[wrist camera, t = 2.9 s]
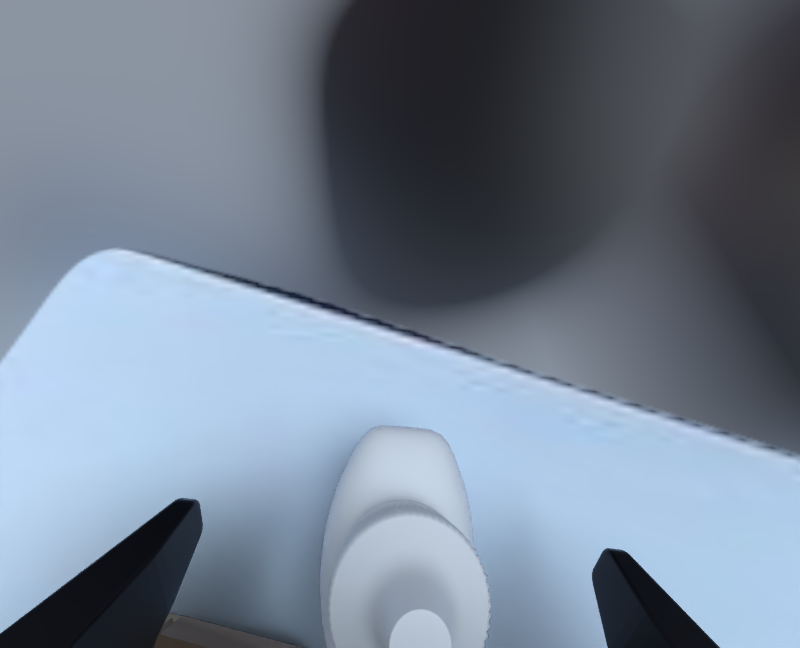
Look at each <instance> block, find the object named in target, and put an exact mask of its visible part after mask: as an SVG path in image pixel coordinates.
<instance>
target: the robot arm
mask: <svg viewBox="0 0 800 648" xmlns="http://www.w3.org/2000/svg"><path fill="white" fill-rule="evenodd" d="M202 528H203V523H202V516H201V509H200V504H199V502H198V501H197V500H195V499H187V498H180V499H177V500H175V501H174V502H172V503H171V504H170V505H168V506H167V507H166V508H165V509H163V510H162V511H161V512H159V513H158V514H157V515H155V516H154V517H153V518H151V519H150V520H149V521H147V522H146V523H145V524H144V525H142V526H141V527H140V528H138V529H137V530H136V531H134V532H133V533H132V534H130V535H129V536H128V537H126V538H125V539H124V540H123V541H121V542H120V543H119V544H117V545H116V546H115V547H113V548H112V549H111V550H109V551H108V552H107V553H105V554H104V555H103V556H102V557H100V558H99V559H98V560H96V561H95V562H94V563H92V564H91V565H90V566H88V567H87V568H86V569H84V570H83V571H82V572H81V573H79V574H78V575H77V576H75V577H74V578H73V579H71V580H70V581H69V582H67V583H66V584H65V585H63V586H62V587H61V588H60V589H58V590H57V591H56V592H54V593H53V594H52V595H50V596H49V597H48V598H46V599H45V600H44V601H42V602H41V603H40V604H39V605H37V606H36V607H35V608H33V609H32V610H31V611H29V612H28V613H27V614H25V615H24V616H23V617H21V618H20V619H19V620H18V621H16V622H15V623H14V624H12V625H11V626H10V627H8V628H7V629H6V630H4V631H3V632H2V633H0V648H152V646H153V644H154V642H155V640H156V638H157V636H158V634H159V632H160V630H161V628H162V626H163V624H164V622H165V620H166V618H167V616H168V614H169V612H170V610H171V607H172V605H173V603H174V600H175V598H176V595H177V593H178V590H179V588H180V585H181V583H182V580H183V578H184V576H185V573H186V571H187V568H188V566H189V563H190V561H191V558H192V556H193V553H194V551H195V548H196V546H197V543H198V541H199V539H200V536H201V533H202ZM592 581H593V586H594V590H595V595H596V599H597V603H598V608H599V612H600V616H601V621H602V625H603V629H604V634H605V638H606V642H607V646H608V648H720V647H719V646H718V645H717V644H716V643H715V642H714V641H713V640H712V639H711V638H710V637H709V636H708V635H707V634H706V633H705V632H704V631H703V630H702V629H701V628H700V627H699V626H698V625H697V624H696V623H695V622H694V621H693V620H692V619H691V618H690V616H689V615H688V614H687V613H686V612H685V611H684V610H683V609H682V608H681V607H680V606H679V605H678V604H677V603H676V602H675V601H674V600H673V599H672V598H671V597H670V596H669V595H668V594H667V593H666V592H665V591H664V590H663V589H662V588H661V587H660V586H659V585H658V583H657V582H656V581H655V580H654V579H653V578H652V577H651V576H650V575H649V574H648V573H647V572H646V571H645V570H644V569H643V568H642V567H641V566H640V565H639V564H638V563H637V562H636V561H635V560H634V559H633V558H632V557H631V556H630V555H629V554H628V553H627V552H625V551H623V550H619V549H610V548H607V549H605V550H604V551H603V552H602V554H601V556H600V558H599V559H598V561H597V563H596V565H595V567H594V569H593V572H592Z"/></svg>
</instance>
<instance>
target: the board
mask: <svg viewBox="0 0 800 648" xmlns="http://www.w3.org/2000/svg"><path fill="white" fill-rule="evenodd" d="M152 648H302V647H298V646H294V645H291V644H287V643H283V642H279V641H276V640H272V639H268V638H265V637H261V636H257V635H253V634H250V633H246V632H242V631H238V630H235V629H231V628H227V627H224V626H220V625H216V624H212V623H209V622H205V621H201V620H198V619H194V618H190V617H186V616H183V615H182V616H179V615H175V614H171V613H169V614H168V616H167V618H166V620H165V622H164V624H163V626H162V628H161V630H160V632H159V634H158V636H157V638H156V640H155V642H154V644H153V646H152Z"/></svg>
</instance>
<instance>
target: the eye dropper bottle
mask: <svg viewBox="0 0 800 648" xmlns="http://www.w3.org/2000/svg"><path fill="white" fill-rule="evenodd" d="M486 579H487V575H486V574H485V573H484V566H483V565H482V564H481V563H480V557H479V556H478V555H477V554H476V549H475V548H474V542H473V529H472V521H471V514H470V508H469V503H468V498H467V494H466V490H465V486H464V482H463V479H462V476H461V473H460V470H459V467H458V464H457V462H456V459H455V456H454V454H453V452H452V450H451V448H450V446H449V444H448V442H447V441H446V440H445V439H444V438H443V436H442V435H441V434H439V433H436V432H434V431H432V430H428V429H421V428H412V427H400V426H378V427H374V428H371V429H370V430H369V431H368V432H366V433H365V434H364V435H363V436H362V438H361V439H360V441H359V442H358V444H357V445H356V447H355V449H354V451H353V452H352V454H351V456H350V458H349V460H348V462H347V464H346V467H345V469H344V471H343V473H342V476H341V478H340V481H339V483H338V485H337V488H336V491H335V494H334V497H333V500H332V504H331V507H330V511H329V515H328V519H327V524H326V528H325V534H324V541H323V547H322V557H321V570H320V602H321V615H322V623H323V631H324V637H325V642H326V647H327V648H484V647H485V646H486V645H485V642H484V641H485V640H486V639H487V637H488V633H487V630H488V629H489V628H490V626H491V625H490V624H489V622H488V621H489V619H490V618H491V616H492V615H491V614H490V612H489V610H490V608H491V606H492V605H491V603H490V602H489V600H490V597H491V594H490V593H489V592H488V589H489V586H490V585H489V584H488V583H487V582H486Z"/></svg>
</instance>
